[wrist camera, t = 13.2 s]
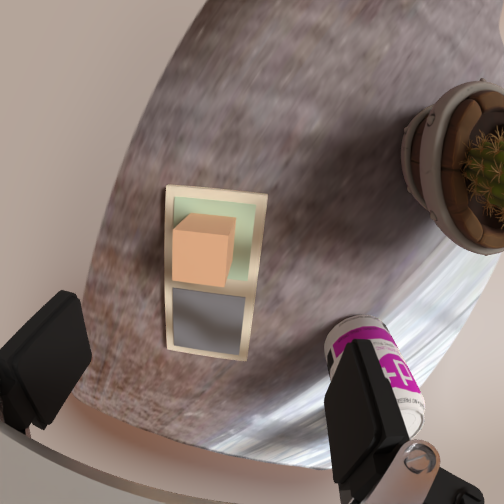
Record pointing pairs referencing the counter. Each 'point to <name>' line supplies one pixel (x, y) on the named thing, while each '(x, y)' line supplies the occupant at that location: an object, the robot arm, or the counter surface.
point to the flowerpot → (460, 164)
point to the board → (212, 297)
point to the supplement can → (389, 361)
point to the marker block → (203, 249)
